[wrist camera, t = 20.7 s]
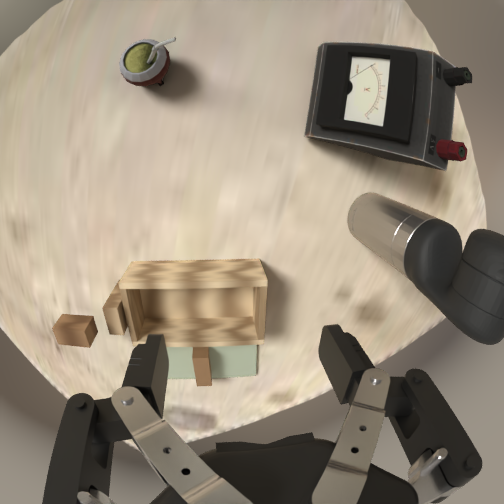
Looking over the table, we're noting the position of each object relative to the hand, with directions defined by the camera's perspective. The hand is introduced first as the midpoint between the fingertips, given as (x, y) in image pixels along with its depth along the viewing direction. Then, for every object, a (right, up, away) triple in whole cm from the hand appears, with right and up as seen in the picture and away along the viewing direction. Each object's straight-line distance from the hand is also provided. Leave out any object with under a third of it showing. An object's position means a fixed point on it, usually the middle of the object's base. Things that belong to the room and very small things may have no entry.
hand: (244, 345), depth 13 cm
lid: (-10, -16, +42) cm, 46 cm away
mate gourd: (-14, +33, +21) cm, 41 cm away
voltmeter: (+17, +30, +27) cm, 43 cm away
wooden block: (-27, -6, +24) cm, 36 cm away
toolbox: (-11, -2, +35) cm, 37 cm away
